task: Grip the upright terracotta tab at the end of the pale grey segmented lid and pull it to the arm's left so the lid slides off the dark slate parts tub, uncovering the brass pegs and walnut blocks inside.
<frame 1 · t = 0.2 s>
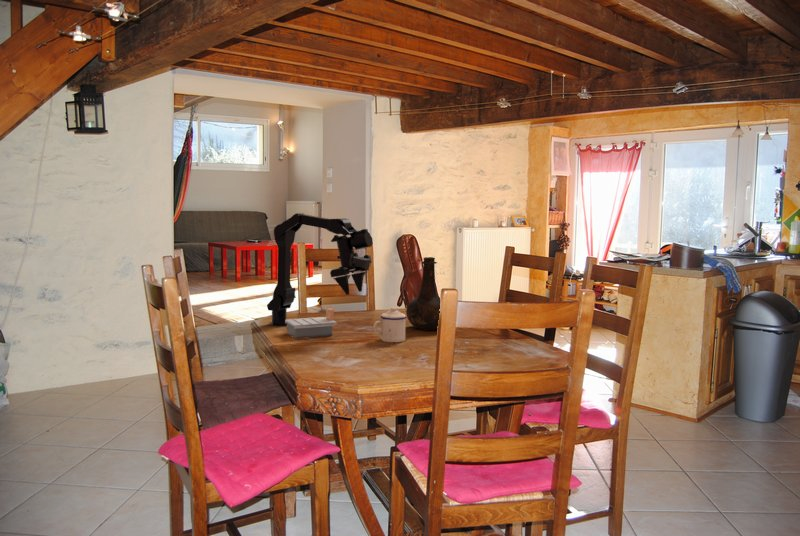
hand: (354, 293, 237), 15 cm above the table, tool pointing down, fingers open, 9 cm apart
teacup with lid: (389, 340, 227), on the table
tub: (309, 334, 235), on the table
lid: (311, 317, 234), point 6 cm above the table, slide at 0.0 cm
glass bottle: (428, 328, 250), on the table
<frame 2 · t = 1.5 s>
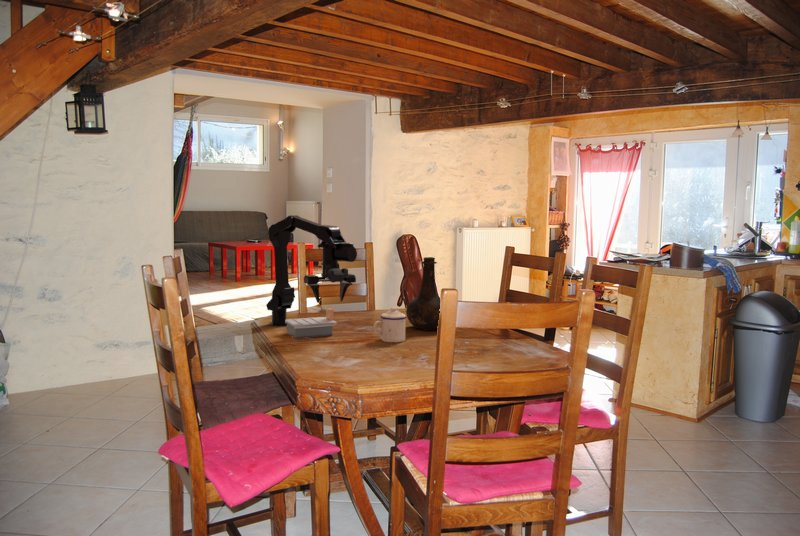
hand: (329, 301, 237), 12 cm above the table, tool pointing down, fingers open, 9 cm apart
nothing on the table moved.
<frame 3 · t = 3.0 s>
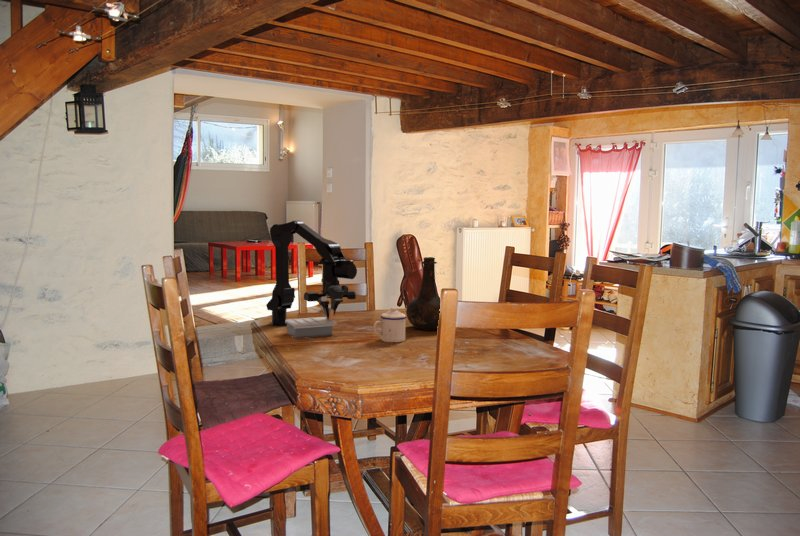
hand: (329, 318, 238), 5 cm above the table, tool pointing down, fingers closed on lid
lid: (311, 317, 234), point 6 cm above the table, slide at 0.0 cm, touching gripper
everything else where it was.
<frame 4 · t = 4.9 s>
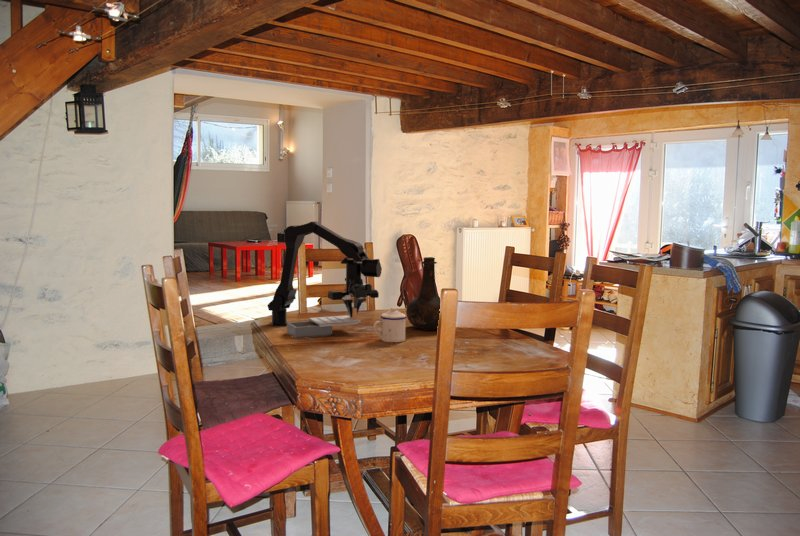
hand: (353, 316, 242), 5 cm above the table, tool pointing down, fingers closed on lid
lid: (334, 315, 238), point 6 cm above the table, slide at 9.3 cm, touching gripper
everything else where it was.
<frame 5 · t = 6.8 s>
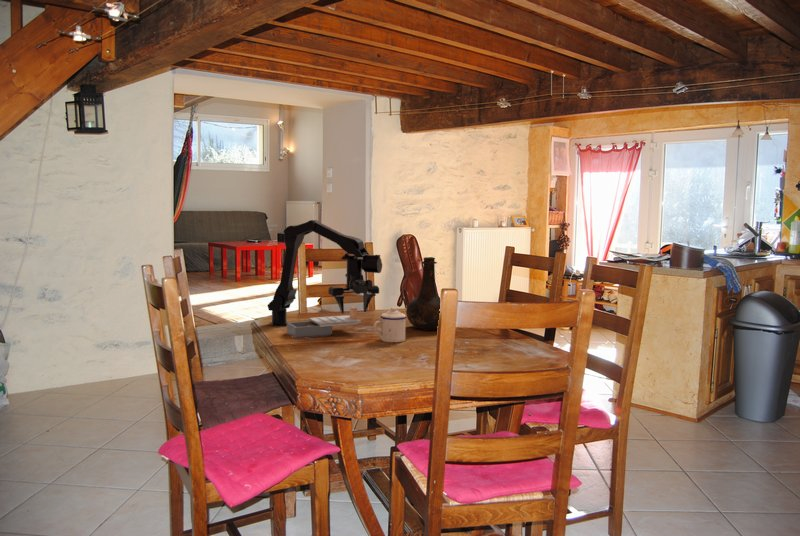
hand: (353, 312, 242), 7 cm above the table, tool pointing down, fingers open, 9 cm apart
lid: (335, 315, 238), point 6 cm above the table, slide at 9.4 cm
everything else where it was.
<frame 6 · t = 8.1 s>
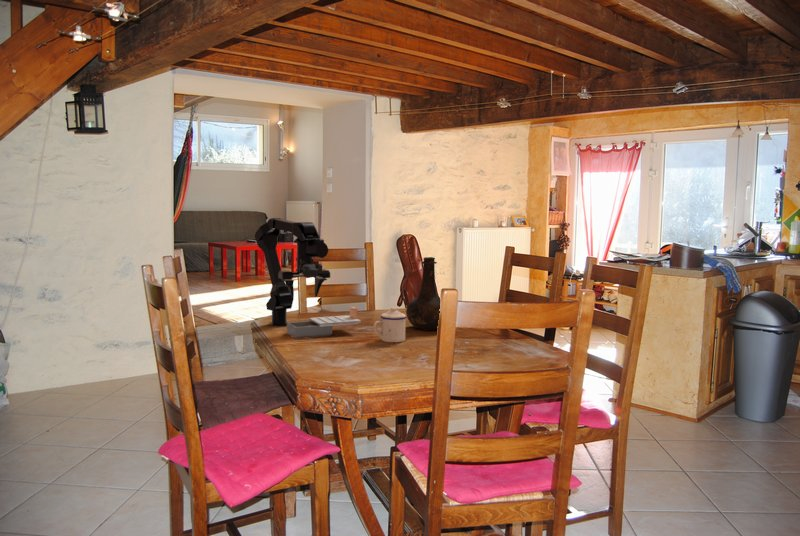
hand: (304, 297, 240), 13 cm above the table, tool pointing down, fingers open, 9 cm apart
nothing on the table moved.
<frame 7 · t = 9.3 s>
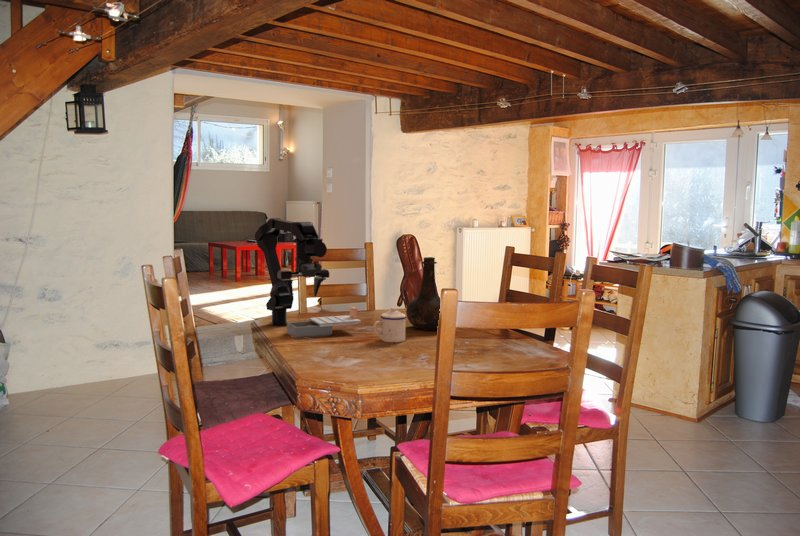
hand: (303, 296, 239), 13 cm above the table, tool pointing down, fingers open, 9 cm apart
nothing on the table moved.
at the end: lid slide at 9.4 cm; the gripper is holding nothing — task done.
